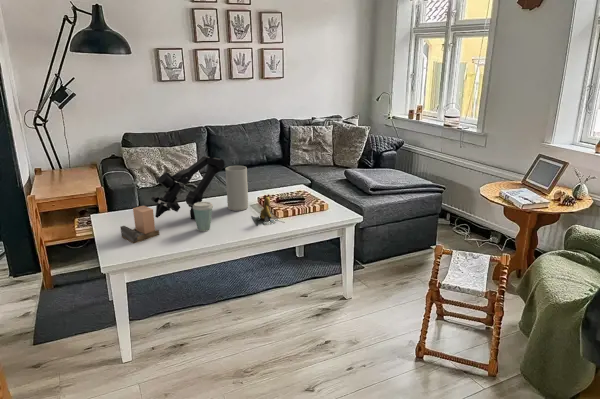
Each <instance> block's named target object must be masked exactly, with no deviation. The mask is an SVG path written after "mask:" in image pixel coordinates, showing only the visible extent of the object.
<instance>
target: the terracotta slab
mask: <svg viewBox="0 0 600 399" xmlns="http://www.w3.org/2000/svg"><path fill="white" fill-rule="evenodd" d="M132 211H133V220H134V229H136V230H137V231H139V232H141V233H143V234H147V233H151V232H154V231H156V225H155V224H156V223H155V217H154V216H155V215H154V208H151V207H148V206H146V205H140V206H137V207H133V208H132Z"/></svg>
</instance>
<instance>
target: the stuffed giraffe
mask: <svg viewBox="0 0 600 399" xmlns="http://www.w3.org/2000/svg"><path fill="white" fill-rule="evenodd" d="M262 197H263V200H264V201H263V208H262V209H261V211H260V214H257V215H259V216H253V215H251V218H252V220H253V221H254V224H255V225H256V227H259V226H258V225H262V226H269V225H276V224H275V223H276V222H280V223H283V224H285V221H281V220H280V219H279V220H278V219H276V218H273V219H272V215H271V214H270V213H271V212H270V211H271V210H270V209H269V207H270V205H271V197H272V196H271V195H270V194H269V193H268V194H267V195H266V194H264V195H263V196H262ZM274 220H275V221H274ZM264 221H265V222H266V223H265V222H264ZM269 221H270V222H269ZM269 223H270V224H269ZM271 223H273V224H271Z"/></svg>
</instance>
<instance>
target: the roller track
mask: <svg viewBox="0 0 600 399" xmlns="http://www.w3.org/2000/svg"><path fill="white" fill-rule="evenodd" d="M120 232H121V238H122V239H124V240H126V241H128V242H130V243H131V244H137V243H139V242H143V241H147V240H149V239H151V238H155V237H158V236H160V230H155V231H154V232H151V233H147V234H143V233H141V232H139V231H137V230H136V229H135V228H130V227H129V226H126V225H122V226H120Z"/></svg>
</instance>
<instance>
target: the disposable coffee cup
mask: <svg viewBox="0 0 600 399" xmlns="http://www.w3.org/2000/svg"><path fill="white" fill-rule="evenodd" d="M213 207H214V205H213V203H212V202H210V201H201V202H198V203H195V204H194V205H193V210H194V215H195V219H194V221H195V224H196V228H197V231H199V232H208V231H210V230H211V224H212V213H213Z"/></svg>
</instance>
